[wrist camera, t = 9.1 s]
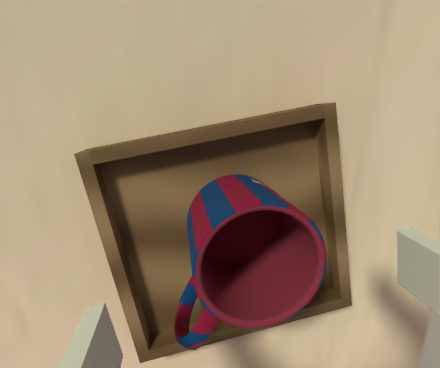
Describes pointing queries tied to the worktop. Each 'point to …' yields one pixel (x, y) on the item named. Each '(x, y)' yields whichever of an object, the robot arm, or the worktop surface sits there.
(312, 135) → the tray
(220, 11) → the worktop surface
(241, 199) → the mug
